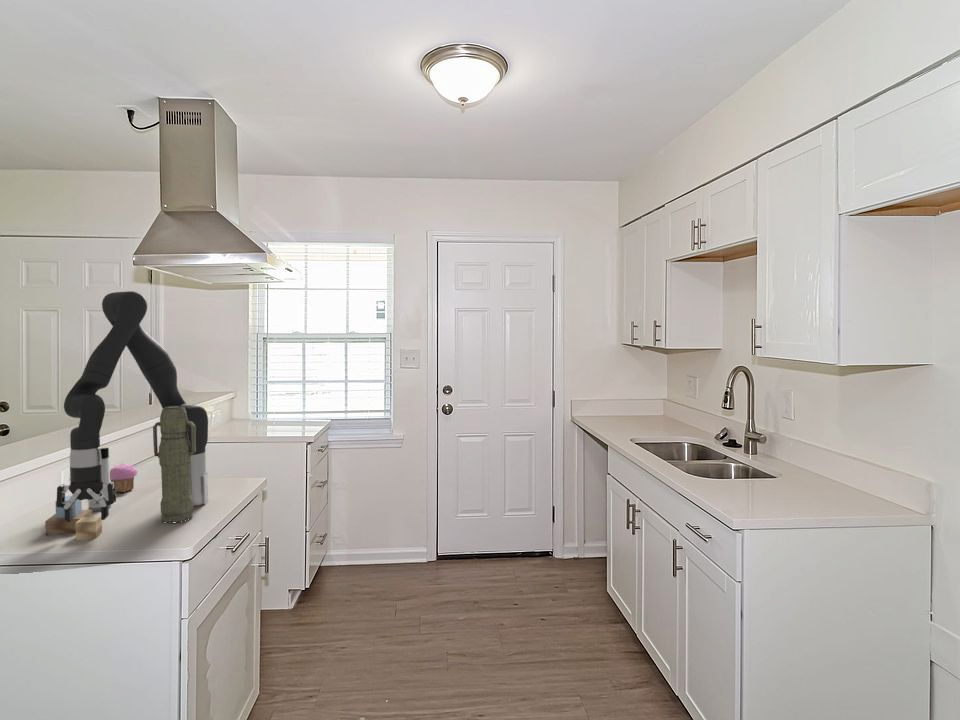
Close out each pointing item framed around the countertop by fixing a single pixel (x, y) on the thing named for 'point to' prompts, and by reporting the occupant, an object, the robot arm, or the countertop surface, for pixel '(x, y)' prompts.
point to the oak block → (88, 528)
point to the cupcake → (123, 477)
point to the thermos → (175, 463)
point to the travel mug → (105, 479)
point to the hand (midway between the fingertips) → (87, 520)
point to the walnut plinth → (64, 523)
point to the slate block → (76, 506)
